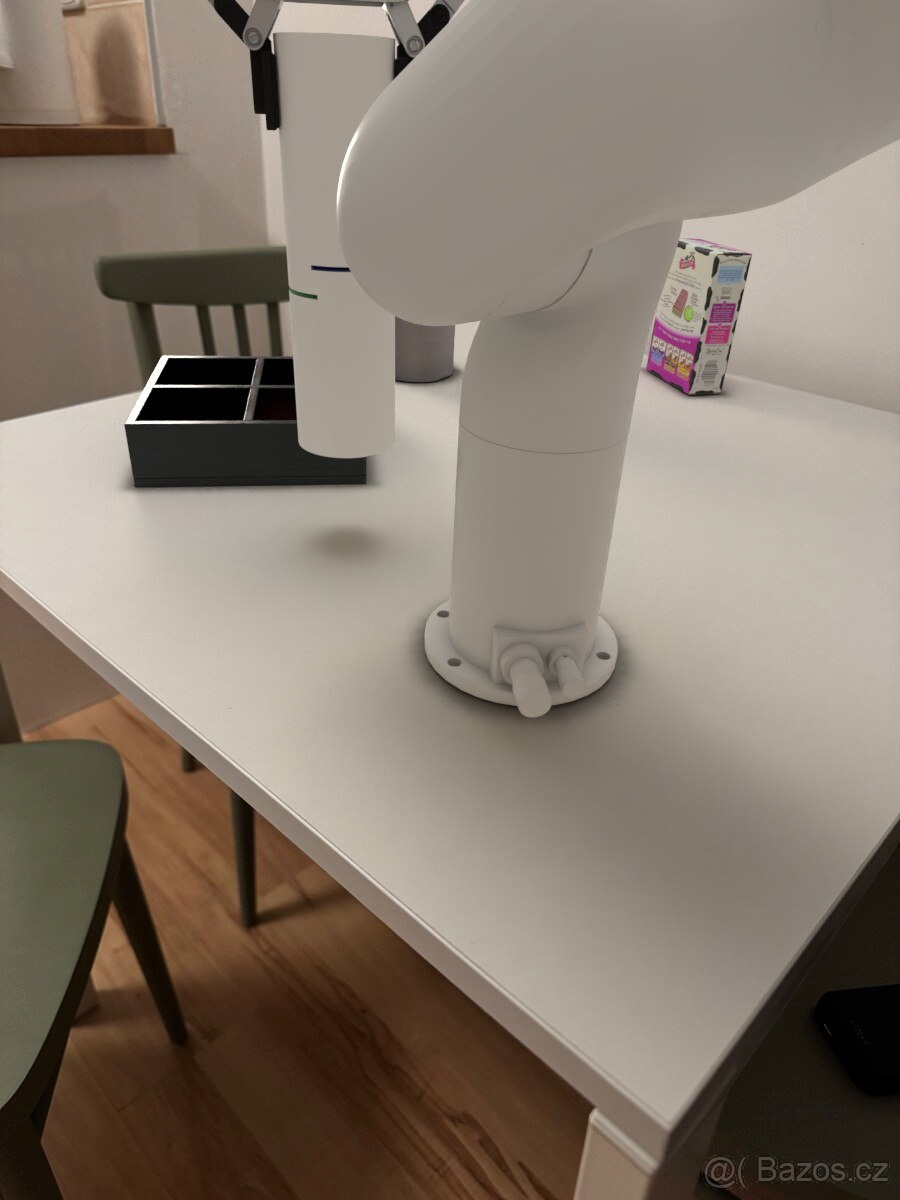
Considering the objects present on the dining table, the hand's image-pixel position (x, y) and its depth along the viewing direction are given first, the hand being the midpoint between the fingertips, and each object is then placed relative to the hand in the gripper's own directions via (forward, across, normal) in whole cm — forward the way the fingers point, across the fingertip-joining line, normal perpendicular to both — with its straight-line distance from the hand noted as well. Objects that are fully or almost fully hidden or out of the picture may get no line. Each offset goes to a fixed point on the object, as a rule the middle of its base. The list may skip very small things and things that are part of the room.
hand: (337, 129), depth 52 cm
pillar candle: (+29, +10, +46) cm, 55 cm away
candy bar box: (+29, +44, +42) cm, 67 cm away
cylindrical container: (+20, 0, 0) cm, 20 cm away
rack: (+29, -8, +22) cm, 37 cm away
